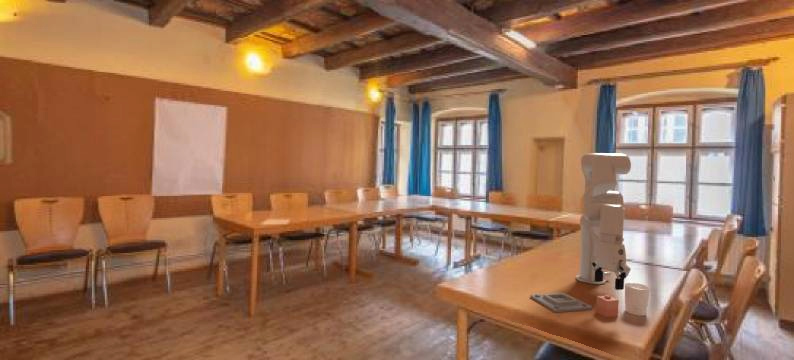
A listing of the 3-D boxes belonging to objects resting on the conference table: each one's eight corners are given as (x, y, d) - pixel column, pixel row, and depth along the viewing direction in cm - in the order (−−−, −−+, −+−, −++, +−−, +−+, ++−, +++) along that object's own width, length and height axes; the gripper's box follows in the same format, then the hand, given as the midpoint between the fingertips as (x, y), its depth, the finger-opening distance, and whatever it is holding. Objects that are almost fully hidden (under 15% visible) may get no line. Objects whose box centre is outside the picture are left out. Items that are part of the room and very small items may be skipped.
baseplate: (564, 294, 164) (564, 289, 164) (592, 309, 149) (592, 303, 149) (530, 297, 160) (530, 292, 160) (555, 312, 145) (555, 306, 145)
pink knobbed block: (607, 311, 148) (608, 293, 147) (617, 316, 143) (618, 297, 142) (595, 312, 146) (596, 294, 146) (606, 317, 142) (607, 298, 141)
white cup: (618, 308, 150) (620, 282, 150) (638, 308, 151) (639, 282, 150) (632, 316, 142) (634, 289, 142) (653, 316, 143) (654, 289, 143)
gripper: (639, 242, 136) (636, 292, 136) (601, 234, 152) (599, 278, 153) (621, 243, 134) (619, 293, 134) (584, 234, 150) (582, 279, 151)
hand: (608, 285), depth 143 cm, fingers open, 9 cm apart
